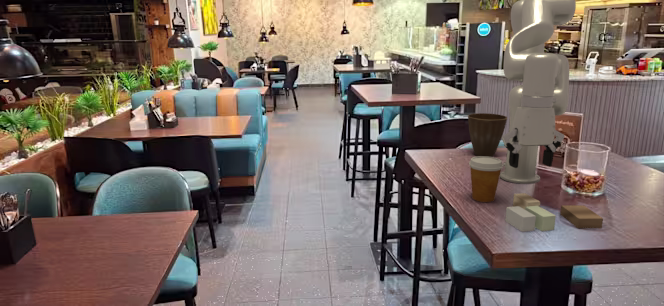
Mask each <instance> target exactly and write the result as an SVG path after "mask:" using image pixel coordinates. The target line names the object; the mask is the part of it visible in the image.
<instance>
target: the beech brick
mask: <svg viewBox="0 0 664 306" xmlns="http://www.w3.org/2000/svg"><path fill="white" fill-rule="evenodd" d="M515 206H519V207H521V208H523V209H525V208H526V207H529V206H539V207H541V201H540V200H538V199H536V197H535V198H534V197H533V196H531V195H529V194H528V193H526V192H524V193H522V192H521V193H513V200H512V207H515Z"/></svg>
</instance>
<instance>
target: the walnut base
mask: <svg viewBox="0 0 664 306" xmlns="http://www.w3.org/2000/svg"><path fill="white" fill-rule="evenodd" d="M559 214H560V216H561V217H562V218H564V219H565V220H566V221H568V222H569V223H570V224H572V226H574V227H575V228H576V229H602V228H603V223H604V218H603V217H602V216H600V215H599V214H597V213H596V212H594V211H592V209H590V208H589V207H587V206H585V205H584V204H583V205H578V204H577V205H571V204H570V205H561V206H560V213H559Z"/></svg>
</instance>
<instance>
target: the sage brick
mask: <svg viewBox="0 0 664 306" xmlns="http://www.w3.org/2000/svg"><path fill="white" fill-rule="evenodd" d="M525 210H526V211H528V212H530V213H531V214H533V215H535V216H536V220H535V228H536V229H538V230H539V231H540V232H548V231H554V230H555V226H556V218H557V216H556V214H554V213H552V212H550V211H548V210H547V209H544V208H543V207H541V206H540V207H539V206H529V207H526V208H525Z"/></svg>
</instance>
